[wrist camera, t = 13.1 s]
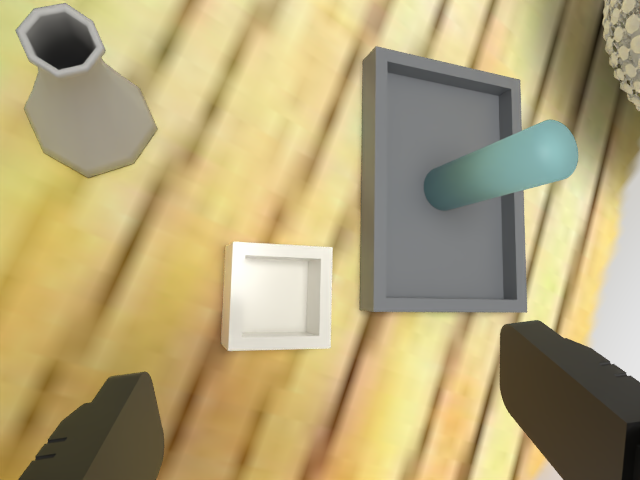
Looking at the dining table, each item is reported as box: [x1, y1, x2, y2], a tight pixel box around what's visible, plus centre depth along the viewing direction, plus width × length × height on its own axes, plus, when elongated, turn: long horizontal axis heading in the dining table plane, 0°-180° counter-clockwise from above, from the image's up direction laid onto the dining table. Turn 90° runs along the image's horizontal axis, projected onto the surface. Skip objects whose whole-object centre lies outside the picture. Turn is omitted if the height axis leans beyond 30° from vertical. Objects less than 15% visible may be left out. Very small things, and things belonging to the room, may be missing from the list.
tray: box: [360, 46, 527, 312], centre depth 35 cm, size 20×14×2 cm
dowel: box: [424, 120, 578, 211], centre depth 31 cm, size 4×4×11 cm
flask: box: [15, 3, 158, 178], centre depth 23 cm, size 7×7×10 cm
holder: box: [221, 242, 333, 351], centre depth 29 cm, size 7×7×4 cm
